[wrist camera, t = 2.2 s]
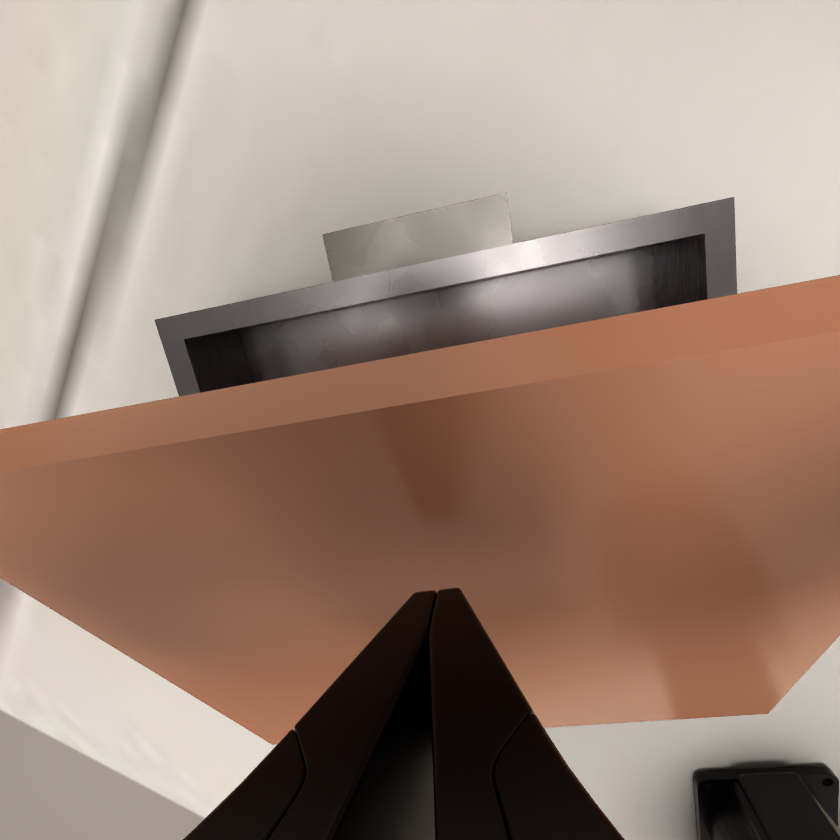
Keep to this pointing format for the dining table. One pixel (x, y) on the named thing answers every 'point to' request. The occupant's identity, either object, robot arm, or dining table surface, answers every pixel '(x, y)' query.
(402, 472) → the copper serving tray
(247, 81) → the dining table surface
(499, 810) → the robot arm
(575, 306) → the dark grey flat box
